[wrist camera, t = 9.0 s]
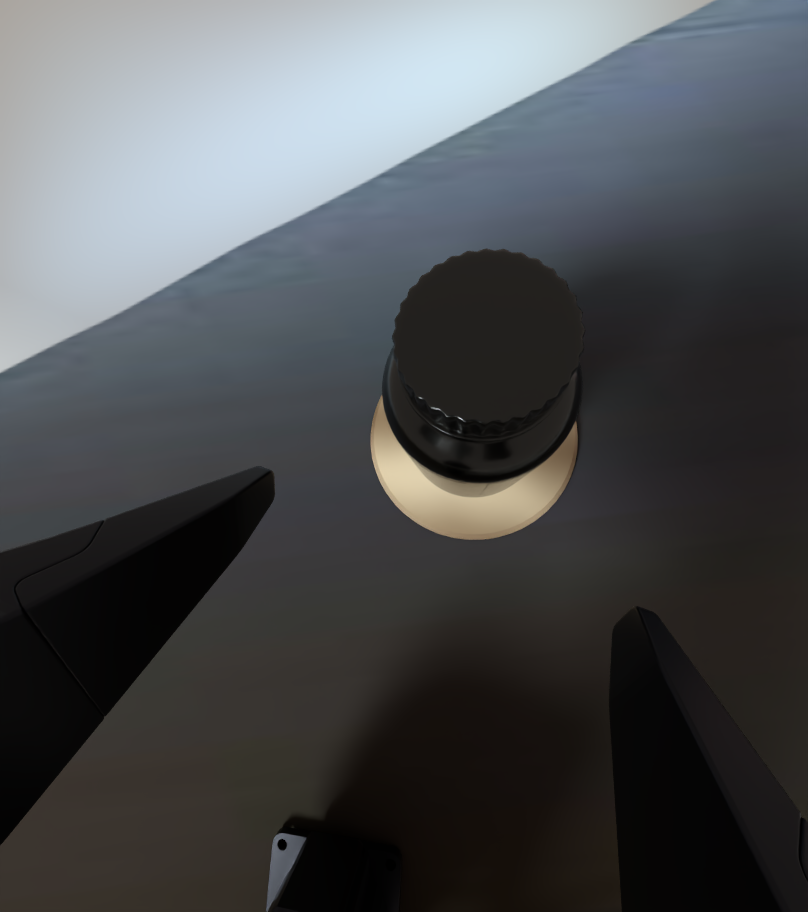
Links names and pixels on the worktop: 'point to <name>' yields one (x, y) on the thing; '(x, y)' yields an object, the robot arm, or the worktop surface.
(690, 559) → the worktop surface
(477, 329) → the supplement bottle
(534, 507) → the coaster
